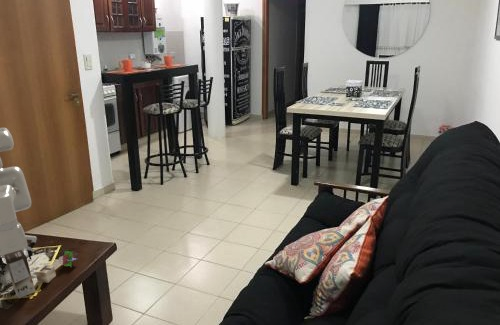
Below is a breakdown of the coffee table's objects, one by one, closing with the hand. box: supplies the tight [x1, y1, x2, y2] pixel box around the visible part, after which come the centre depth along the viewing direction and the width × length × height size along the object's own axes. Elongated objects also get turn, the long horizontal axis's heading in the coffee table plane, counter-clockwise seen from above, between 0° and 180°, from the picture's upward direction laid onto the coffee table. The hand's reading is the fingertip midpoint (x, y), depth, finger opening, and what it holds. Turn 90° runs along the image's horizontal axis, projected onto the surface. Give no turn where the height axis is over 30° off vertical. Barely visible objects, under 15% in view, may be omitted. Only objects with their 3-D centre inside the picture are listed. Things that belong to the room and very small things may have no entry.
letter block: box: [35, 264, 57, 283], centre depth 167 cm, size 6×5×5 cm
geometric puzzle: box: [58, 250, 77, 268], centre depth 176 cm, size 7×7×8 cm
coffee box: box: [4, 250, 36, 299], centre depth 159 cm, size 9×6×16 cm
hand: (16, 261), depth 157 cm, fingers open, 9 cm apart
